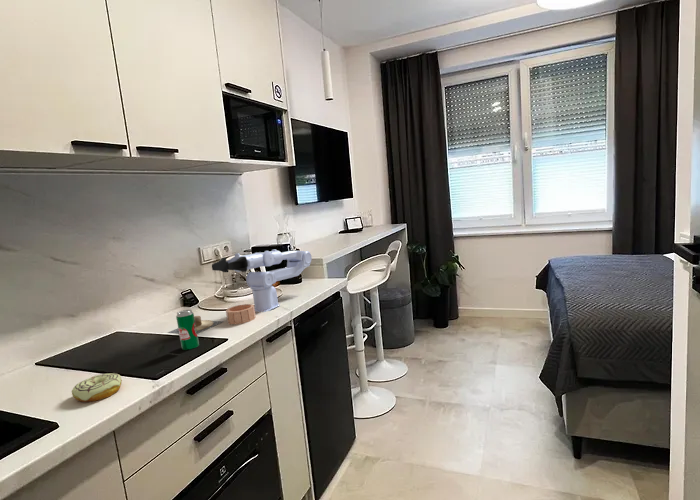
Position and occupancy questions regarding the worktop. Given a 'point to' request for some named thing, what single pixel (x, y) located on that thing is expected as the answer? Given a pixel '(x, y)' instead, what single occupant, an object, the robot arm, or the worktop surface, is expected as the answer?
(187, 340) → the soda can
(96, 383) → the decorated donut
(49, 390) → the worktop surface
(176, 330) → the mat
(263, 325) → the worktop surface
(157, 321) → the worktop surface
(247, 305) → the bowl
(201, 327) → the lid
